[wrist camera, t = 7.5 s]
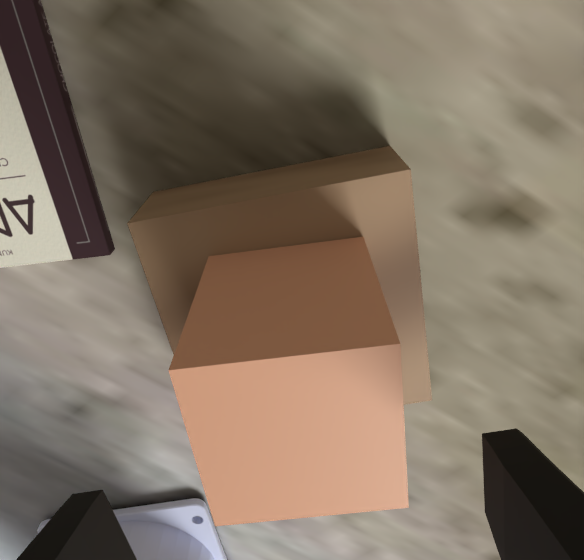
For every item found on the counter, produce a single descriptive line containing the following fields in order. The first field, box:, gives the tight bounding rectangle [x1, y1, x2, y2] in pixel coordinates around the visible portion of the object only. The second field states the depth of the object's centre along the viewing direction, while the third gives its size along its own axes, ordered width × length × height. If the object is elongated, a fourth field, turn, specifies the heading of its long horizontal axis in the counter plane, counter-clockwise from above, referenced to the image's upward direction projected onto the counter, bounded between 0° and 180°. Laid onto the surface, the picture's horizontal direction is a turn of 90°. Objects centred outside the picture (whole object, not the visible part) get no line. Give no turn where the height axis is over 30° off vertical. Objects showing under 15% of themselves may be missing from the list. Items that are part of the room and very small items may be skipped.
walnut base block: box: [127, 146, 432, 405], centre depth 17 cm, size 8×8×4 cm
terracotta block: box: [169, 237, 409, 526], centre depth 13 cm, size 4×4×6 cm
